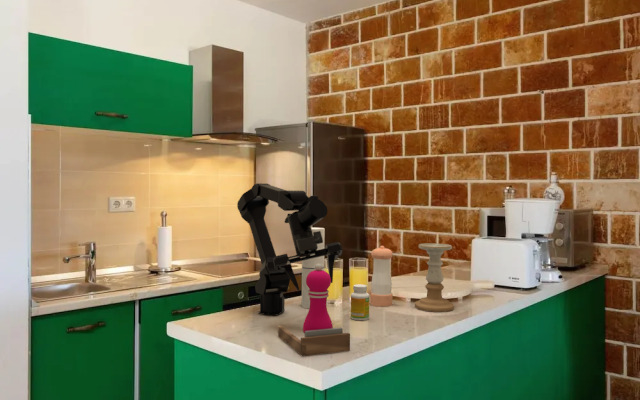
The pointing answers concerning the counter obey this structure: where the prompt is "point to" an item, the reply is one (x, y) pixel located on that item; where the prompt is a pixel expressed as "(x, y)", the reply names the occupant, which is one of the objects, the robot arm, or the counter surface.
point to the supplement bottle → (360, 303)
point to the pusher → (323, 332)
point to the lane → (316, 342)
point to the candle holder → (434, 280)
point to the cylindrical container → (311, 268)
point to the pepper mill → (318, 300)
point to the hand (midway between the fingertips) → (315, 286)
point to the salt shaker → (381, 278)
